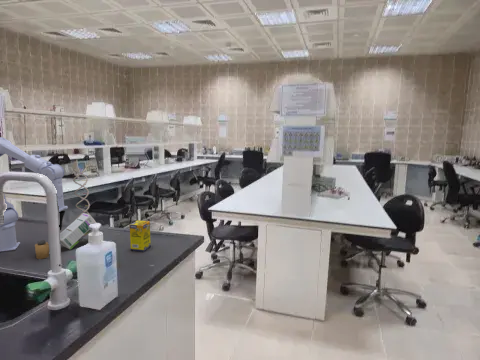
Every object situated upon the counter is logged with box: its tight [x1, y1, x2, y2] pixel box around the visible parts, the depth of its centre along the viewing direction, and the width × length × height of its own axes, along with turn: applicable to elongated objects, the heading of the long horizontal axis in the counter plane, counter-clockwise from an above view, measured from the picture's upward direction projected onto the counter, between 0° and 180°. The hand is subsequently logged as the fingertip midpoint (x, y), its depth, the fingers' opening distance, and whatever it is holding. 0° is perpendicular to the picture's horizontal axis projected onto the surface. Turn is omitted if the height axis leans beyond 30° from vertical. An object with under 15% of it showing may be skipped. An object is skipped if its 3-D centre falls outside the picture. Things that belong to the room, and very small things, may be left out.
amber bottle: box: [34, 239, 50, 260], centre depth 118 cm, size 4×4×6 cm
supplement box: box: [129, 219, 152, 253], centre depth 126 cm, size 6×6×11 cm
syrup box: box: [59, 212, 97, 250], centre depth 129 cm, size 6×6×14 cm
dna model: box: [72, 167, 91, 219], centre depth 144 cm, size 7×6×30 cm
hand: (58, 230), depth 122 cm, fingers closed
